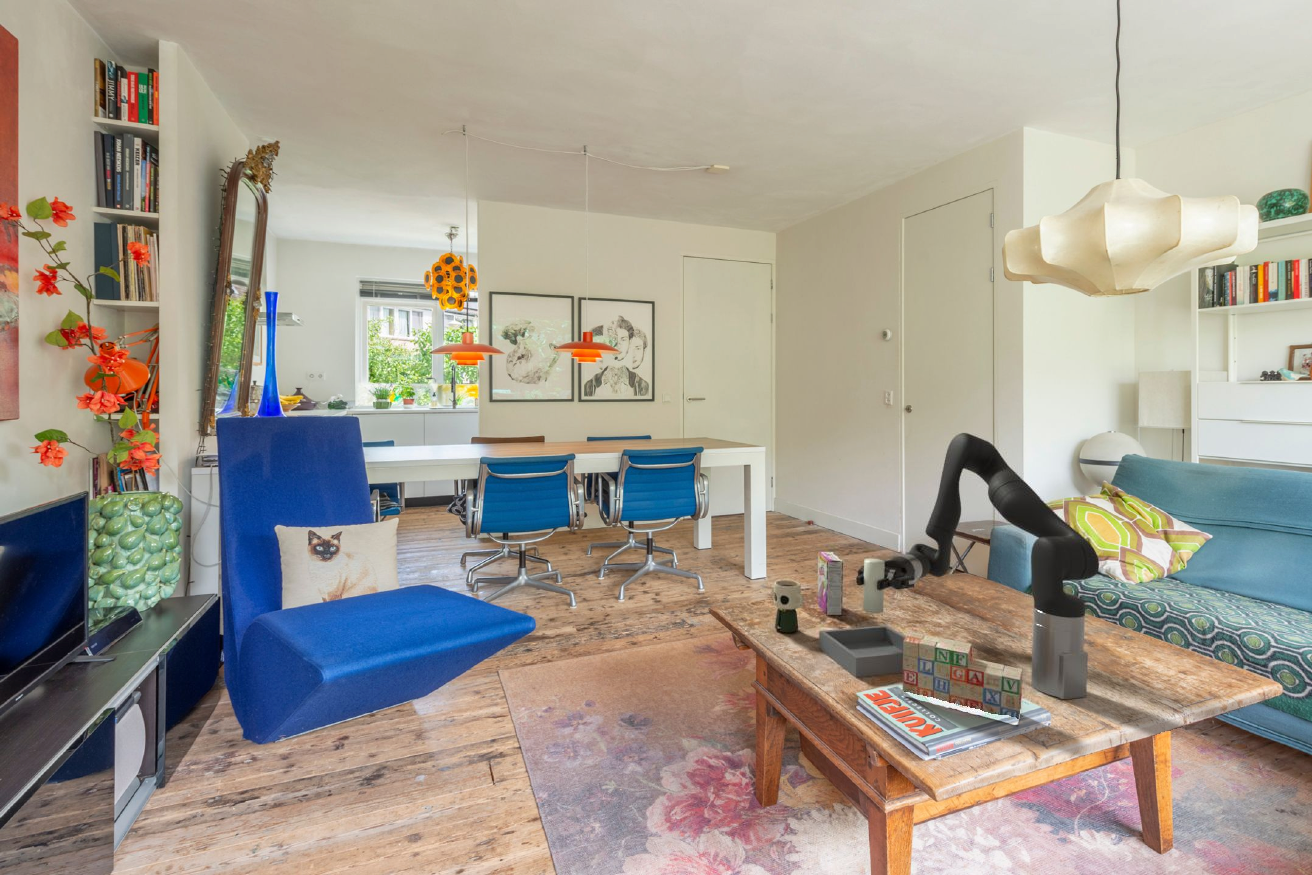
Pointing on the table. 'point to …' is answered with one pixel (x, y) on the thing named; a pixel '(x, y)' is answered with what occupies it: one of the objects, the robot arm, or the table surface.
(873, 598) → the canister
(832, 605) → the candy bar box
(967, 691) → the stack of blocks
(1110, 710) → the table surface
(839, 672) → the table surface
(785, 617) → the character mug
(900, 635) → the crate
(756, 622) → the table surface
